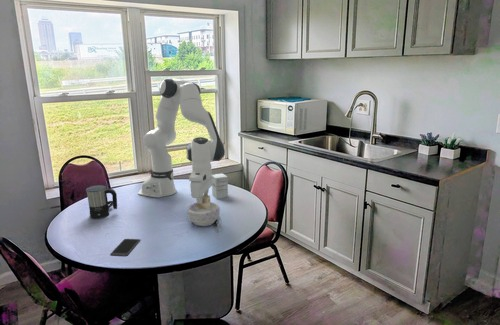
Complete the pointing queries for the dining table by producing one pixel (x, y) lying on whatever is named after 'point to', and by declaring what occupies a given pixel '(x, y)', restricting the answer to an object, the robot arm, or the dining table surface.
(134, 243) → the cell phone
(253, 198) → the dining table surface
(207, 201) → the maple block
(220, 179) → the supplement box
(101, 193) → the milk frother
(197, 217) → the paper bowls
